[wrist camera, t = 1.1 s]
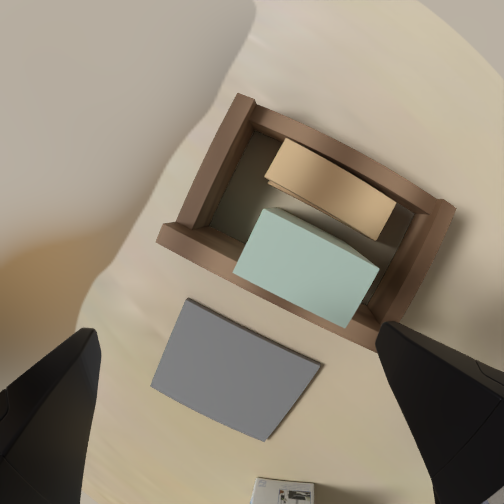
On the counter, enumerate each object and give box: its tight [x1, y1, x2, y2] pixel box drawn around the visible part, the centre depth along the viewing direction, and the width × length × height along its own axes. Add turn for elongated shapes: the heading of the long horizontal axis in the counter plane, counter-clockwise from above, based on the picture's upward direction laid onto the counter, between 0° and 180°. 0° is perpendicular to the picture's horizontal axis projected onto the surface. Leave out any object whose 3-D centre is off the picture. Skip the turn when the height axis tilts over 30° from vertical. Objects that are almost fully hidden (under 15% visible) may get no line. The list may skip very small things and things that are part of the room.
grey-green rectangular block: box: [232, 207, 379, 328], centre depth 18 cm, size 6×3×10 cm, turn 64°
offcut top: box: [264, 138, 396, 241], centre depth 19 cm, size 8×3×2 cm, turn 61°
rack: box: [156, 93, 457, 353], centre depth 19 cm, size 16×10×6 cm, turn 64°
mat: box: [150, 298, 320, 442], centre depth 25 cm, size 12×10×1 cm
